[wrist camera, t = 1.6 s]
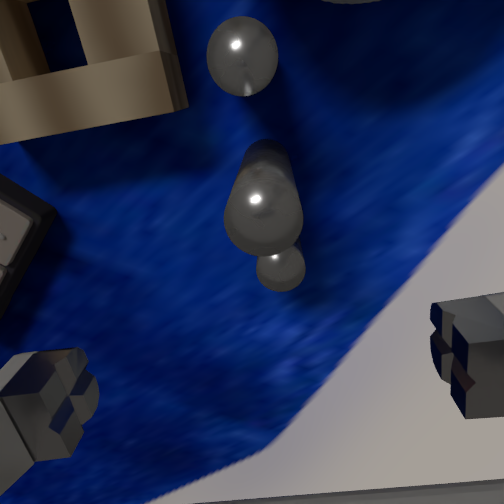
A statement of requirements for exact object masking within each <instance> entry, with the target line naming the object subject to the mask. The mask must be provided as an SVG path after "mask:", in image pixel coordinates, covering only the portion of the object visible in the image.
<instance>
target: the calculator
mask: <svg viewBox="0 0 504 504" xmlns="http://www.w3.org/2000/svg"><path fill="white" fill-rule="evenodd" d="M56 214H57V211H56V209H55V208H54V207H53V206H51V205H50V204H48V203H47V202H45V201H43V200H42V199H40V198H39V197H37V196H35V195H34V194H32V193H31V192H29V191H27V190H26V189H24V188H23V187H21V186H19V185H18V184H16V183H15V182H13V181H11V180H10V179H8V178H7V177H5V176H3V175H2V174H0V320H1V318H2V316H3V314H4V312H5V310H6V309H7V307H8V305H9V303H10V301H11V297H12V295H13V293H14V292H15V290H16V288H17V286H18V284H19V283H20V281H21V279H22V277H23V275H24V274H25V272H26V270H27V268H28V266H29V265H30V263H31V261H32V259H33V257H34V256H35V254H36V252H37V250H38V248H39V246H40V244H41V243H42V241H43V239H44V237H45V235H46V233H47V231H48V230H49V228H50V226H51V224H52V222H53V220H54V218H55V216H56Z"/></svg>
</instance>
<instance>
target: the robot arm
mask: <svg viewBox="0 0 504 504" xmlns="http://www.w3.org/2000/svg"><path fill="white" fill-rule="evenodd" d="M430 320H431V322H432V323H433V325H434V326H435V327H436V330H435V332H433V334H432V335H431V336H430V345H431V354H432V358H433V363H434V365H435V368H436V370H437V372H438V374H439V376H440V377H441V379H442V380H444V381H446V382H447V383H449V384H451V396H452V398H453V400H454V401H455V403H456V405H457V406H458V408H459V410H460V411H461V413H462V414H463V416H464V418H465V419H476V418H490V417H504V292H501V293H495V294H489V295H482V296H478V297H471V298H464V299H457V300H450V301H444V302H437V303H432V305H431V309H430ZM87 364H88V359H87V357H86V355H85V353H84V351H83V350H82V349H80V348H78V347H74V348H64V349H55V350H45V351H39V352H38V351H35V352H28V353H21V354H18V355H14V356H13V357H12V358H11V359H10V360H9V361H8V362H7V363H6V364H5V366H4V367H3V368H2V369H1V370H0V496H1V495H2V494H3V493H4V492H5V491H6V490H7V489H8V488H9V487H10V486H11V485H12V484H13V483H14V482H15V481H16V480H18V479H19V478H20V477H21V476H22V475H23V474H24V473H25V472H26V471H27V470H28V469H29V468H30V467H31V466H32V465H33V464H34V462H35V461H43V460H51V459H59V458H67V457H71V455H72V454H73V452H74V450H75V448H76V446H77V444H78V442H79V440H80V439H81V437H82V435H83V433H84V430H83V427H82V424H84V423H85V422H86V421H87V420H89V419H90V418H91V417H92V416H93V414H94V412H95V410H96V408H97V405H98V399H99V389H98V384H97V381H96V378H95V376H94V375H92V374H91V373H90V372H88V371H87V370H86V367H87ZM195 504H504V479H497V480H484V481H473V482H460V483H448V484H435V485H422V486H411V487H410V486H409V487H396V488H384V489H371V490H358V491H346V492H332V493H320V494H307V495H295V496H281V497H271V498H270V497H269V498H257V499H244V500H232V501H219V502H209V503H195Z"/></svg>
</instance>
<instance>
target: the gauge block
mask: <svg viewBox="0 0 504 504" xmlns="http://www.w3.org/2000/svg"><path fill="white" fill-rule="evenodd" d="M34 1H38V0H0V145H1V144H7V143H12V142H17V141H23V140H28V139H33V138H38V137H44V136H49V135H54V134H60V133H65V132H70V131H75V130H81V129H86V128H91V127H97V126H102V125H107V124H112V123H118V122H123V121H128V120H134V119H139V118H144V117H149V116H155V115H160V114H165V113H171V112H175V111H178V110H182V109H185V108H188V107H189V104H188V100H187V96H186V91H185V87H184V82H183V78H182V73H181V69H180V64H179V60H178V56H177V51H176V47H175V42H174V38H173V33H172V29H171V24H170V20H169V16H168V11H167V7H166V2H165V0H68V1H69V4H70V7H71V10H72V14H73V17H74V20H75V23H76V27H77V30H78V33H79V36H80V40H81V43H82V46H83V50H84V53H85V56H86V59H87V63H88V65H87V66H82V67H77V68H72V69H67V70H62V71H58V72H53V73H50V70H49V67H48V64H47V61H46V58H45V55H44V52H43V49H42V46H41V44H40V41H39V38H38V35H37V32H36V29H35V26H34V23H33V20H32V17H31V14H30V11H29V9H28V6H27V3H29V2H34Z"/></svg>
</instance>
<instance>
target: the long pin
mask: <svg viewBox="0 0 504 504" xmlns="http://www.w3.org/2000/svg"><path fill="white" fill-rule="evenodd" d="M224 225H225V229H226V232H227V234H228V236H229V238H230V240H231V241H232V242H233V243H234V244H235V245H236V246H237V247H238V248H239V249H241V250H242V251H244V252H246V253H248V254H251V255H254V256H264V257H265V256H273V255H276V254H279V253H281V252H283V251H285V250H287V249H288V248H289V247H290V246H292V245H293V244H294V242H295V241H296V240H297V238H298V237H299V235H300V232H301V230H302V226H303V212H302V208H301V204H300V200H299V196H298V192H297V188H296V184H295V180H294V176H293V172H292V168H291V164H290V160H289V156H288V153H287V151H286V149H285V148H284V147H283V146H282V145H281V144H280V143H279V142H277V141H275V140H272V139H261V140H258V141H256V142H254V143H252V144H251V145H250V146H249V147H248V149H247V150H246V152H245V154H244V157H243V160H242V163H241V166H240V168H239V171H238V174H237V177H236V180H235V183H234V185H233V188H232V191H231V194H230V197H229V199H228V202H227V205H226V208H225V212H224Z"/></svg>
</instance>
